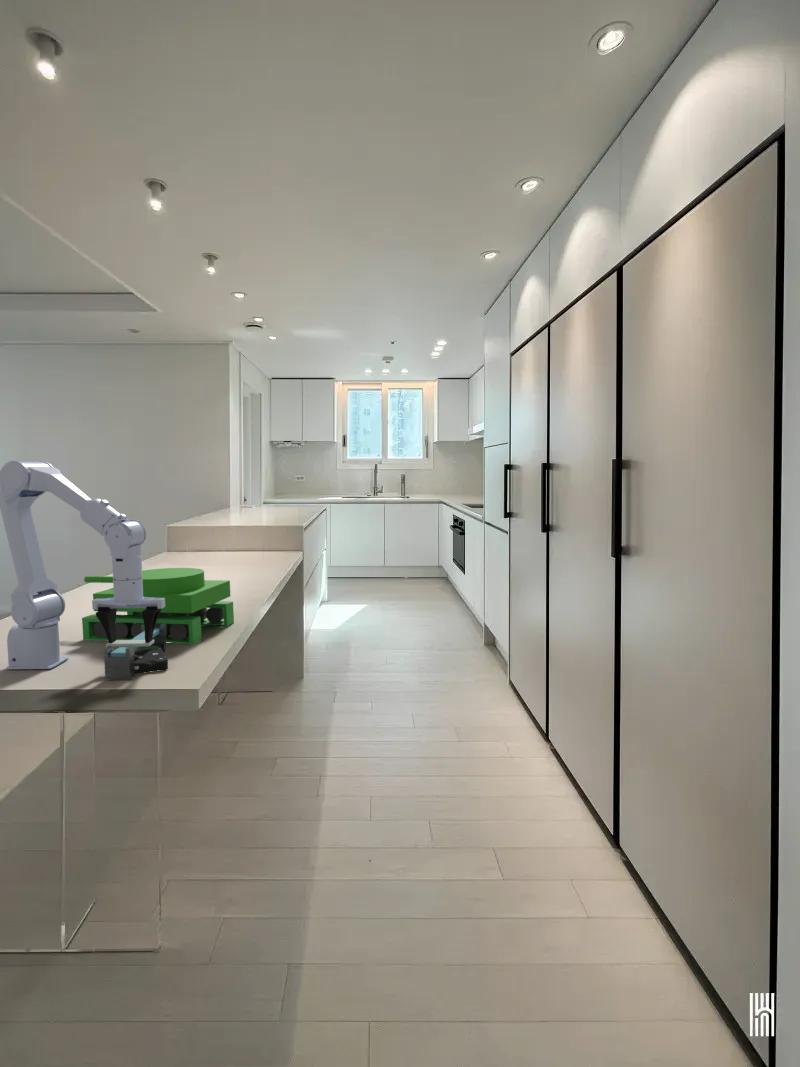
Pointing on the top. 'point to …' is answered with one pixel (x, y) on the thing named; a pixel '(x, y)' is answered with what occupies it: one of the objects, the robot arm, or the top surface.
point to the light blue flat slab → (131, 643)
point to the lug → (119, 665)
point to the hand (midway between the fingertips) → (130, 642)
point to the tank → (168, 605)
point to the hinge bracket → (159, 637)
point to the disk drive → (149, 659)
